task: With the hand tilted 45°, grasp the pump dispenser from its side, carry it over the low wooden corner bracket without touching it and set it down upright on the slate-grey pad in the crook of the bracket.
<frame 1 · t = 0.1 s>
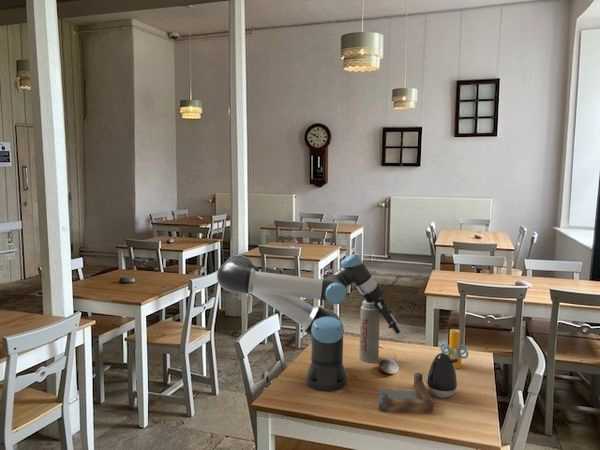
hand: (400, 333, 196), 15 cm above the table, tool tilted 35°, fingers open, 13 cm apart
wooden corner bracket: (428, 411, 165), on the table
thermos bottle: (368, 359, 210), on the table
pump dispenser: (441, 395, 177), on the table
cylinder: (453, 366, 204), on the table
pad: (398, 399, 173), on the table
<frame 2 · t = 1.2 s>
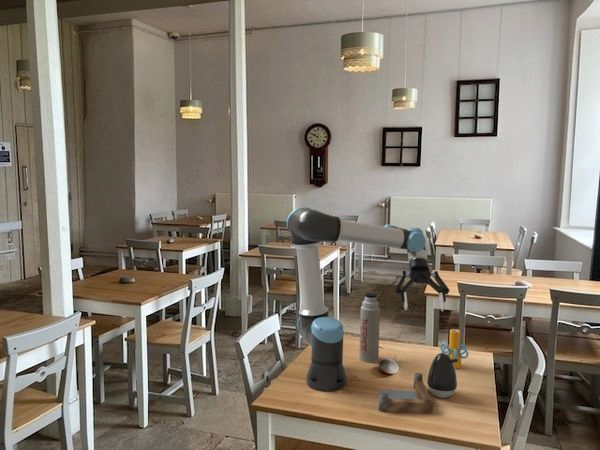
hand: (424, 309, 187), 27 cm above the table, tool tilted 45°, fingers open, 13 cm apart
nothing on the table moved.
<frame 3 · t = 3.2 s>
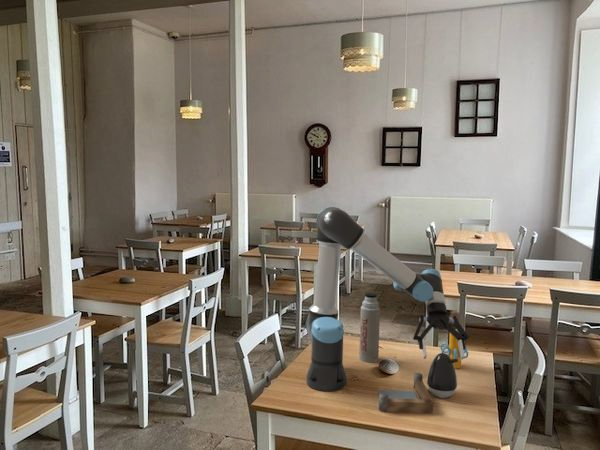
hand: (443, 357, 181), 12 cm above the table, tool tilted 45°, fingers open, 13 cm apart
nothing on the table moved.
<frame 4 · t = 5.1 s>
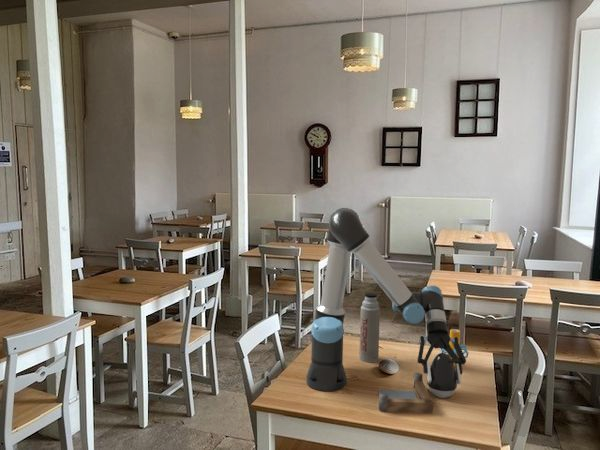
hand: (444, 382, 174), 6 cm above the table, tool tilted 45°, fingers closed on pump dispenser, 9 cm apart
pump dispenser: (441, 395, 177), on the table, touching gripper
everything else where it was.
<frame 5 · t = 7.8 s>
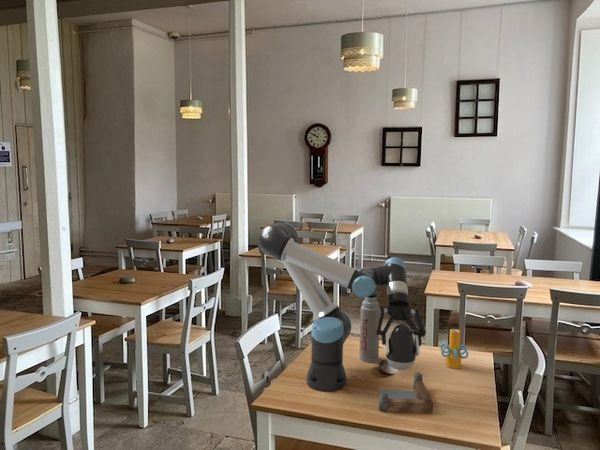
hand: (402, 353, 169), 17 cm above the table, tool tilted 45°, fingers closed on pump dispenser, 9 cm apart
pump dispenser: (400, 367, 172), point 11 cm above the table, touching gripper
everything else where it was.
when the fingers open (7 cm above the table, at t = 10.3 s): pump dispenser drops 1 cm, resting on pad.
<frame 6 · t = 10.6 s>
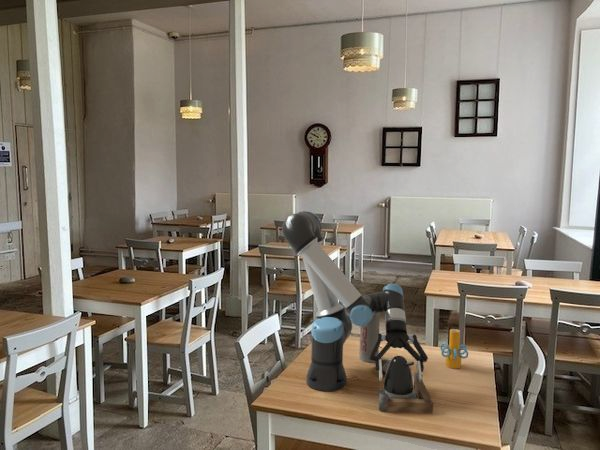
hand: (400, 380, 170), 8 cm above the table, tool tilted 45°, fingers open, 13 cm apart
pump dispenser: (398, 398, 173), resting on pad
everything else where it was.
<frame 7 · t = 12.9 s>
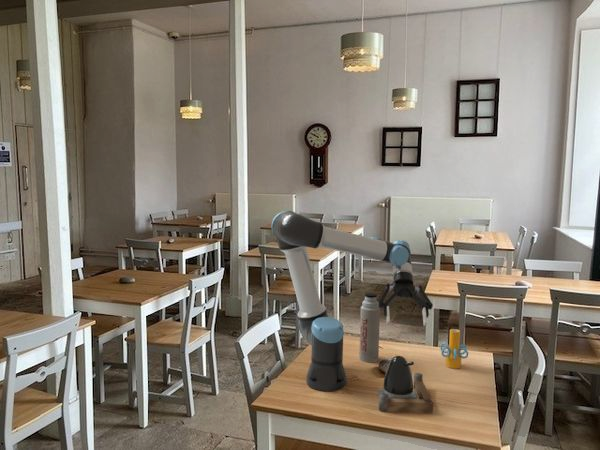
hand: (406, 324, 184), 23 cm above the table, tool tilted 45°, fingers open, 13 cm apart
nothing on the table moved.
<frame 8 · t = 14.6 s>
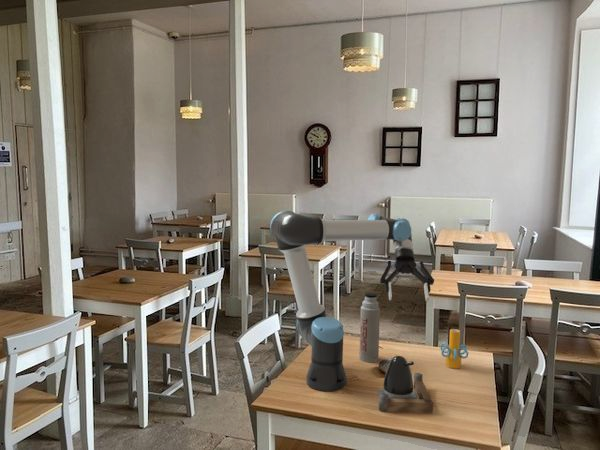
hand: (408, 299, 185), 32 cm above the table, tool tilted 45°, fingers open, 13 cm apart
nothing on the table moved.
at the end: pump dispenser inside the target area (0.2 cm from its centre), resting on pad; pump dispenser tilted 0°; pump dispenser touching pad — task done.
